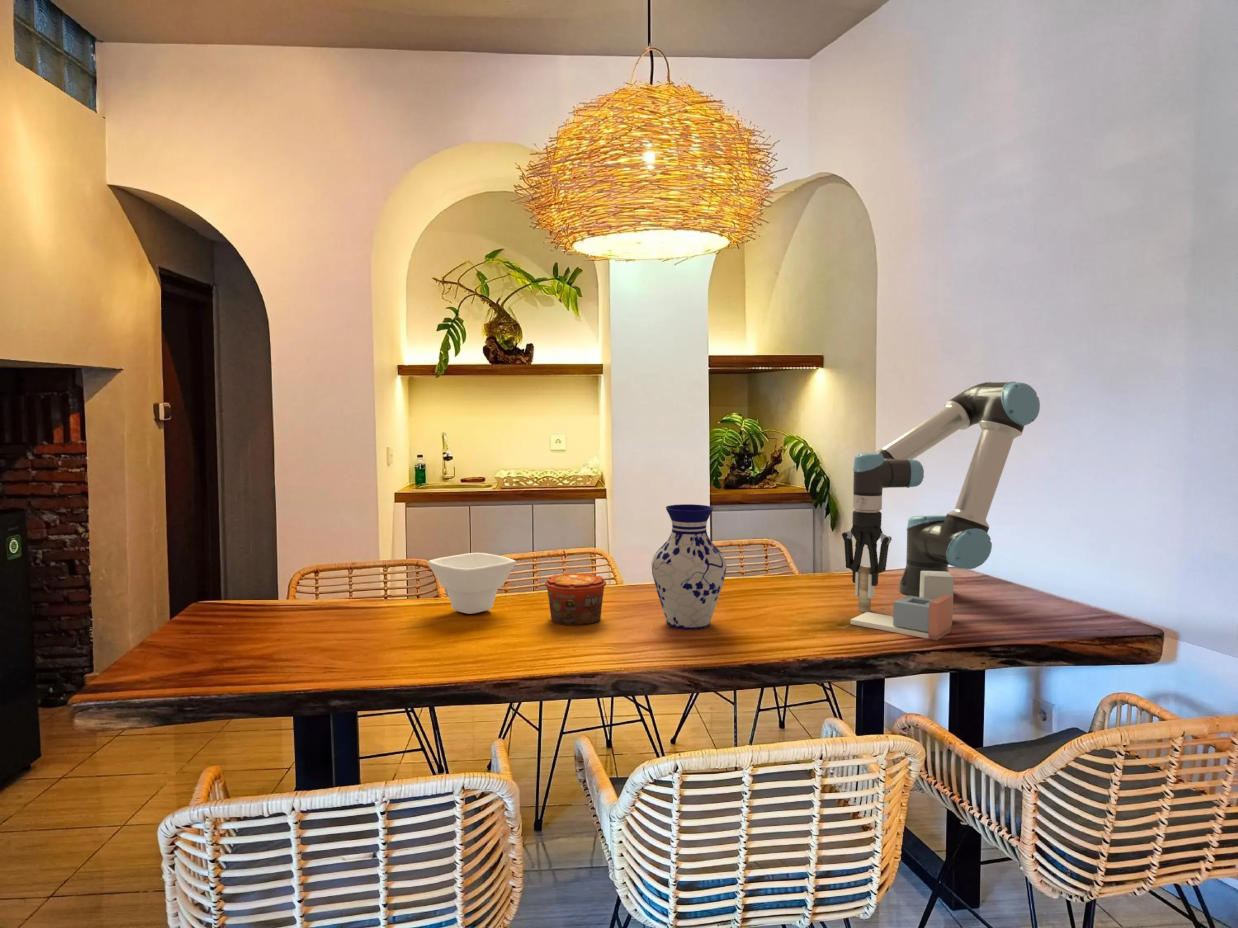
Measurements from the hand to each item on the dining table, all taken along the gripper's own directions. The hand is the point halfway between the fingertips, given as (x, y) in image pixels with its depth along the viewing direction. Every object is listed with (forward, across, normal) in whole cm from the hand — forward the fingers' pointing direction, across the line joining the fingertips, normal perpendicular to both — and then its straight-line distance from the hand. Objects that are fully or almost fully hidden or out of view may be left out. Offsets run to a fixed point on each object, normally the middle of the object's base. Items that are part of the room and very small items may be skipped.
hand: (864, 596), depth 233 cm
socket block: (+3, +18, -10) cm, 21 cm away
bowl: (+4, -80, -70) cm, 106 cm away
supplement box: (+4, +18, +2) cm, 19 cm away
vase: (+4, -29, -42) cm, 51 cm away
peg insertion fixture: (+4, +14, -10) cm, 18 cm away
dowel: (+4, 0, 0) cm, 4 cm away
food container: (+4, -54, -57) cm, 79 cm away
